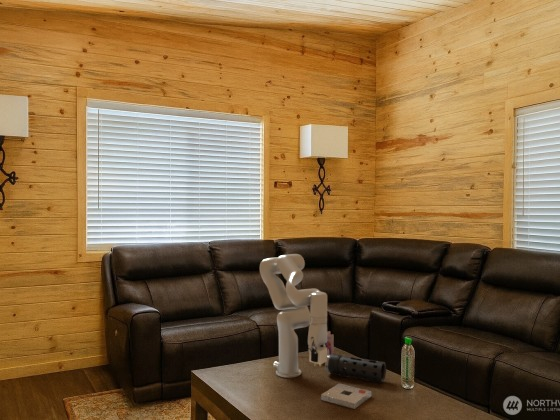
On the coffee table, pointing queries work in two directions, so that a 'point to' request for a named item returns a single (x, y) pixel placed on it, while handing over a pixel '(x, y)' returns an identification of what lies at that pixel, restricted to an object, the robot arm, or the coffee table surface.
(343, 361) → the muzzle brake
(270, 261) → the robot arm
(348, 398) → the socket
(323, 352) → the plug
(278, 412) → the coffee table surface
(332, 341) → the greeting card
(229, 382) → the coffee table surface
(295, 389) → the coffee table surface
